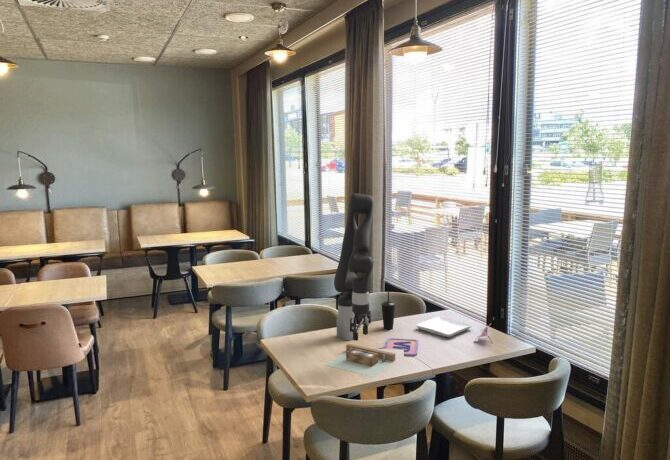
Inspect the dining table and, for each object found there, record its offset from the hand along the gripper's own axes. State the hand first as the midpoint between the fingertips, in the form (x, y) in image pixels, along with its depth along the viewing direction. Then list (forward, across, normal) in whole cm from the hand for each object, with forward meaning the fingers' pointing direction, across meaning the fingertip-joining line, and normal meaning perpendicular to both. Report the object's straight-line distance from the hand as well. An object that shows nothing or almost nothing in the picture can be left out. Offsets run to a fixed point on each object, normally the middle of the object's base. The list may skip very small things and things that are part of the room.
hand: (360, 337), depth 223 cm
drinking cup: (+13, +46, +10) cm, 49 cm away
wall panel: (+12, -1, -1) cm, 12 cm away
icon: (+13, +25, -5) cm, 28 cm away
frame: (+11, 0, -1) cm, 11 cm away
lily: (+12, +54, -38) cm, 67 cm away
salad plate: (+13, +59, -16) cm, 62 cm away
